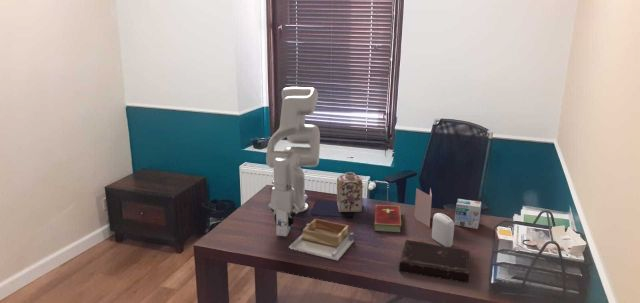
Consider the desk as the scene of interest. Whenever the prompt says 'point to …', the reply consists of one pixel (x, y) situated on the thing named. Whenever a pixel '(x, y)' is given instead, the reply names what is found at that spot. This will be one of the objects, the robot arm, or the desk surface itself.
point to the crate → (325, 233)
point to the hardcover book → (387, 218)
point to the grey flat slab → (322, 247)
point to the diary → (435, 260)
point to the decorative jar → (349, 193)
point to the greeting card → (423, 207)
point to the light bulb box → (467, 213)
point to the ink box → (282, 223)
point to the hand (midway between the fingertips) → (284, 223)
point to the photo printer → (443, 229)
